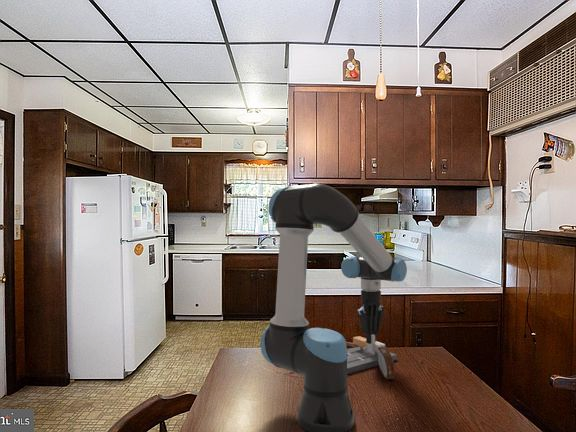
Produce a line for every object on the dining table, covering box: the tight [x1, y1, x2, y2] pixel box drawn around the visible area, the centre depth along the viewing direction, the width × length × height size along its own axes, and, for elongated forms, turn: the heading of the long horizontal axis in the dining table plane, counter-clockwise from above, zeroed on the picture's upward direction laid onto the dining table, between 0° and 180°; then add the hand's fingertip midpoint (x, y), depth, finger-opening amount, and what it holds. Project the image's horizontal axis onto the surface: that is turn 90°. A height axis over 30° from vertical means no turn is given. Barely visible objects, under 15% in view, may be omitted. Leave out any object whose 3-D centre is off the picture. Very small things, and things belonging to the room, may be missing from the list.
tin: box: [378, 346, 395, 380], centre depth 133 cm, size 15×3×8 cm, turn 178°
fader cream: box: [375, 340, 386, 355], centre depth 146 cm, size 4×6×4 cm, turn 32°
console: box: [347, 346, 398, 375], centre depth 145 cm, size 30×15×3 cm, turn 122°
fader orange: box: [352, 335, 367, 350], centre depth 151 cm, size 4×6×4 cm, turn 32°
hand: (371, 351), depth 145 cm, fingers closed
